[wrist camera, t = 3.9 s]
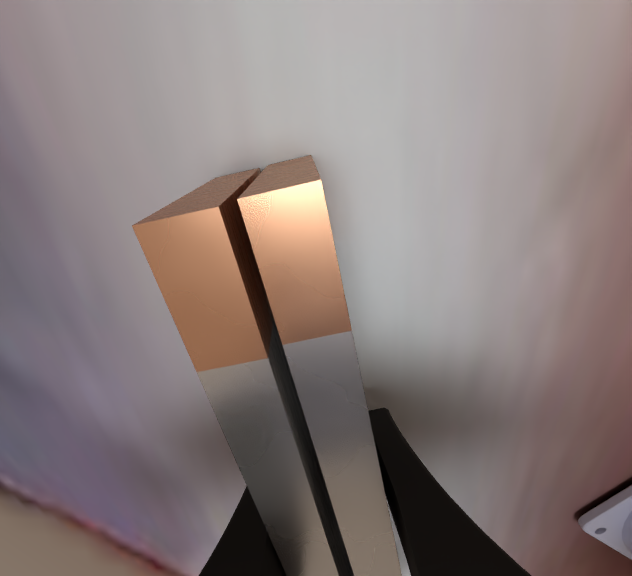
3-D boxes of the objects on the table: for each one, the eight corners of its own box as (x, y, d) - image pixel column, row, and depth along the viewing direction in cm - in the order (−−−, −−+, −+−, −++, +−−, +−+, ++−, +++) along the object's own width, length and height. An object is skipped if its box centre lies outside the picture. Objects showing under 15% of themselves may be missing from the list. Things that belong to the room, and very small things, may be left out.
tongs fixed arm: (399, 568, 18) (441, 752, 13) (343, 578, 18) (360, 763, 13) (314, 154, 9) (333, 187, 4) (207, 179, 9) (90, 242, 4)
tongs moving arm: (357, 538, 16) (379, 699, 12) (332, 543, 16) (343, 704, 12) (259, 168, 9) (218, 206, 5) (215, 178, 9) (132, 225, 5)
